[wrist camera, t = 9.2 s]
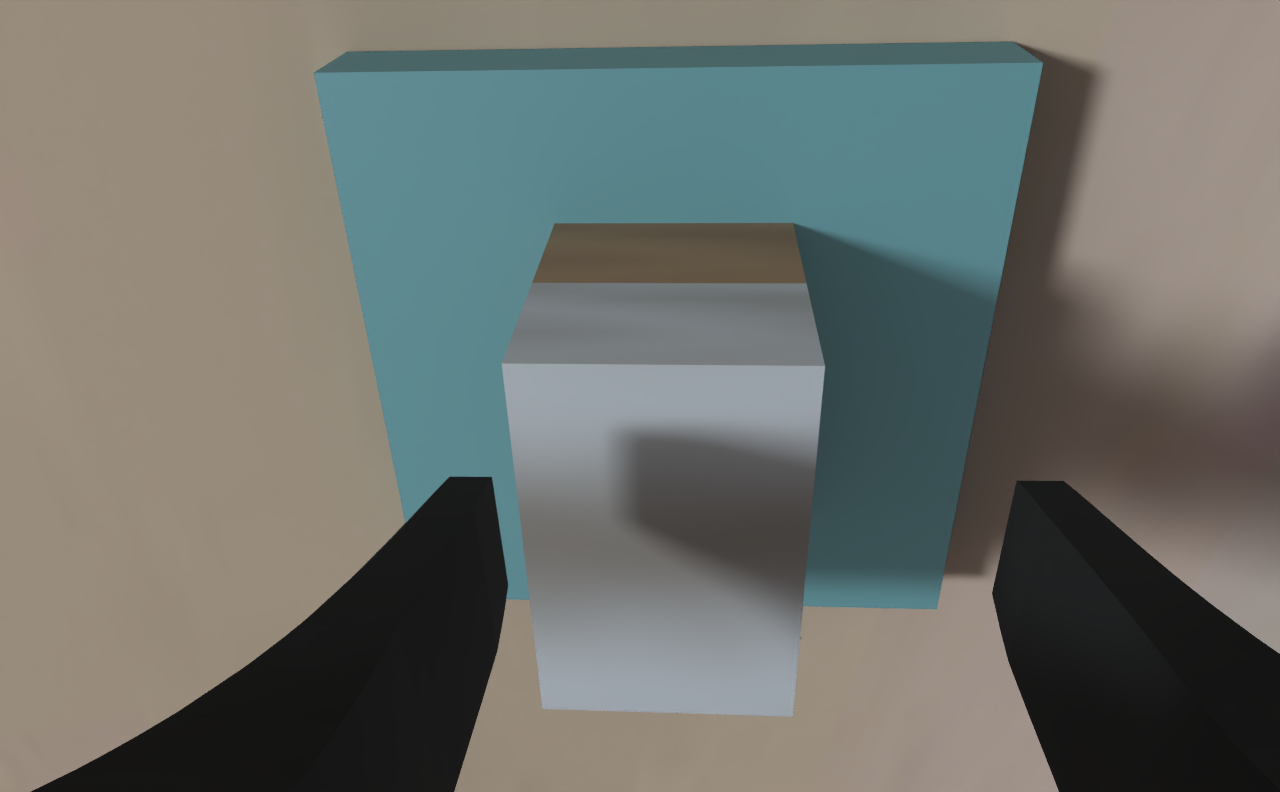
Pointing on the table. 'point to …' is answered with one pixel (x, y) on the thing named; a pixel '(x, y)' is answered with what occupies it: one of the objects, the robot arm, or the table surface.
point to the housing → (666, 464)
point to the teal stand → (697, 193)
